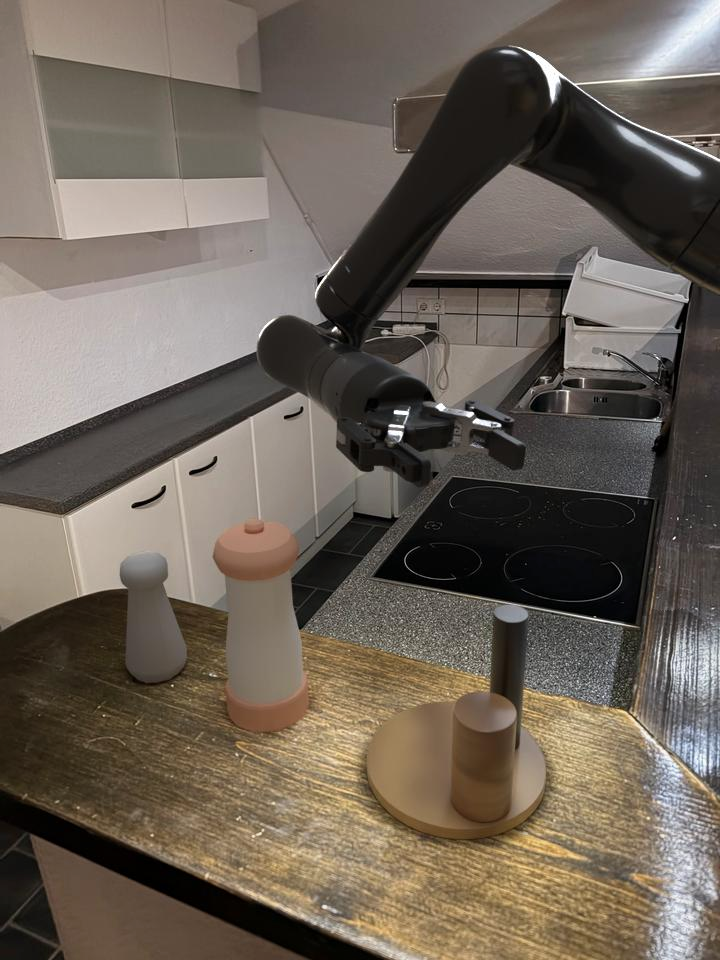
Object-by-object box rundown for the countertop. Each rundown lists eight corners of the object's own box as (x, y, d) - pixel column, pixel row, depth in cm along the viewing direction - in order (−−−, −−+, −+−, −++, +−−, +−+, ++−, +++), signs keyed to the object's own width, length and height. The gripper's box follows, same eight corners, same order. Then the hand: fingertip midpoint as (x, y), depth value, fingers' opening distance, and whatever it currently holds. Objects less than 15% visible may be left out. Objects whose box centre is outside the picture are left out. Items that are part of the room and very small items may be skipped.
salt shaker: (146, 656, 77) (128, 541, 73) (198, 661, 76) (185, 545, 71) (117, 691, 72) (97, 570, 67) (174, 698, 71) (157, 575, 66)
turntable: (482, 693, 69) (488, 566, 64) (584, 800, 57) (600, 653, 52) (339, 739, 64) (334, 604, 59) (418, 867, 52) (419, 711, 47)
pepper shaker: (322, 698, 70) (313, 509, 63) (287, 750, 64) (272, 546, 57) (253, 681, 73) (237, 498, 66) (212, 730, 67) (190, 532, 60)
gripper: (303, 368, 65) (395, 432, 52) (443, 354, 72) (557, 408, 58) (302, 449, 69) (389, 528, 56) (437, 429, 75) (543, 496, 62)
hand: (475, 466), depth 57 cm, fingers open, 8 cm apart
